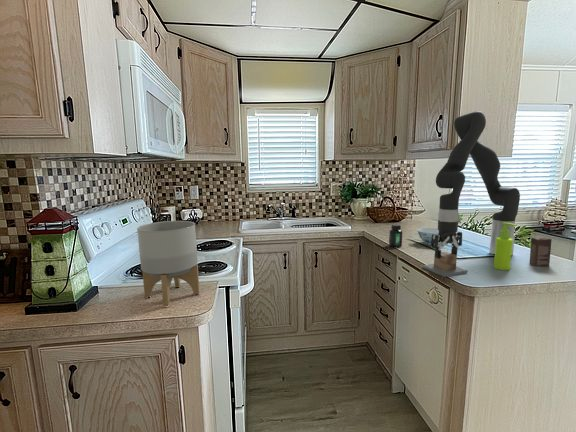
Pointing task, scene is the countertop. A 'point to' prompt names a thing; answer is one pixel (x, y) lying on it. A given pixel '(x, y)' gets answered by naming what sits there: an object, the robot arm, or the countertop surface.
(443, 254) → the walnut cube
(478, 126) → the robot arm
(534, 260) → the box
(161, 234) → the planter
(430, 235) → the chinaware
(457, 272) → the slate tile
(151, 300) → the countertop surface
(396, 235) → the supplement bottle
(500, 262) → the soap dispenser
